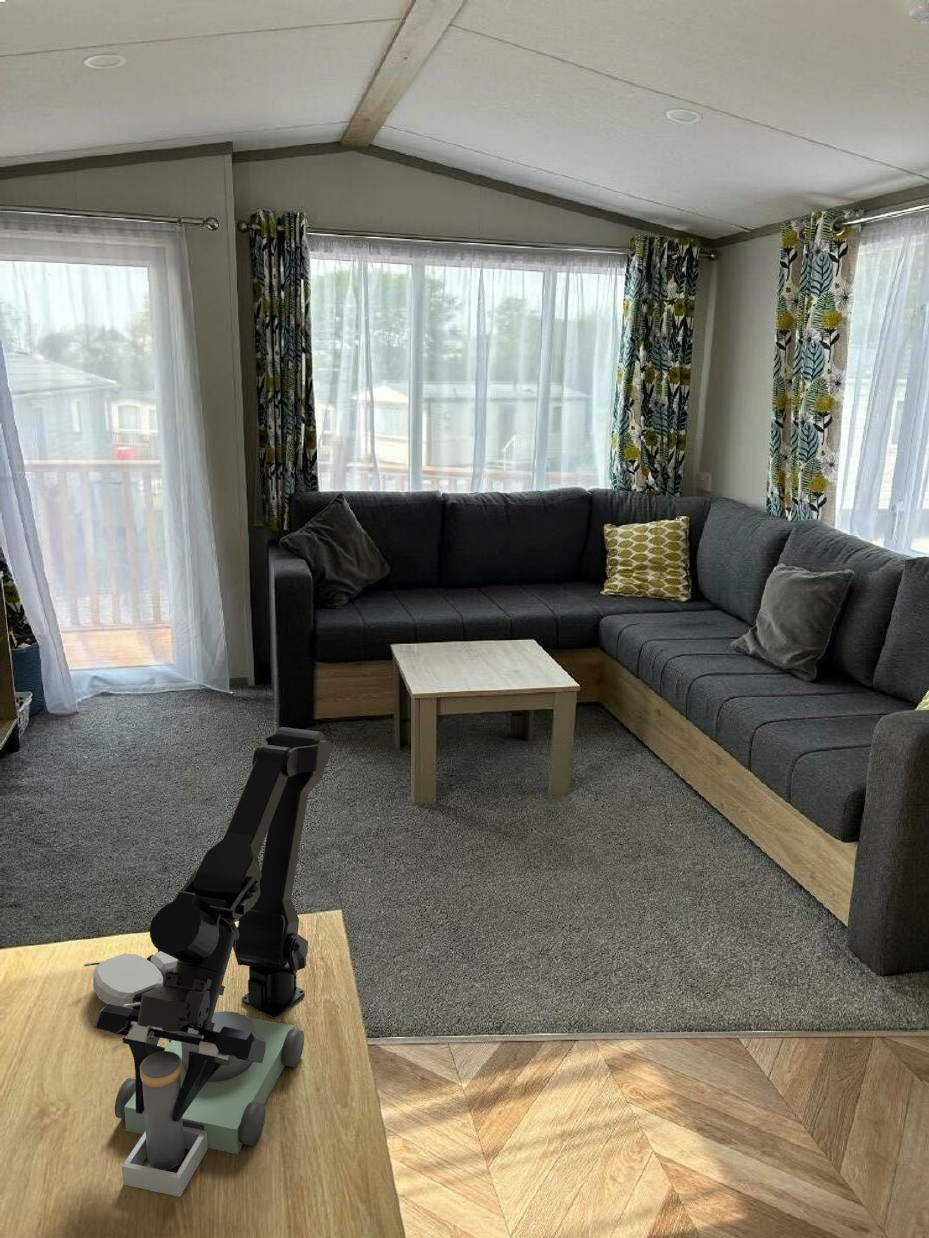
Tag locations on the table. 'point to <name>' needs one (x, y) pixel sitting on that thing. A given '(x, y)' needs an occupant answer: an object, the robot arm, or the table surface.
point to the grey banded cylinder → (162, 1109)
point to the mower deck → (214, 1103)
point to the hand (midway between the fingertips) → (156, 1117)
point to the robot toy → (130, 977)
